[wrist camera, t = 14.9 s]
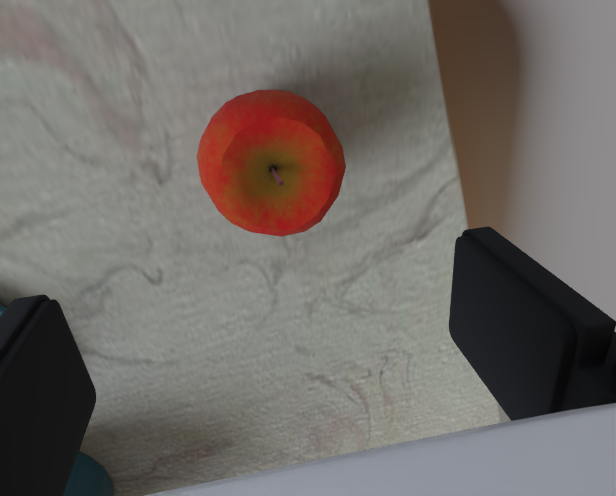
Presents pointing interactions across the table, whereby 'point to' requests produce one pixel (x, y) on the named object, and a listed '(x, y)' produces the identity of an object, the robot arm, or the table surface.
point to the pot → (88, 479)
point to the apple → (271, 162)
